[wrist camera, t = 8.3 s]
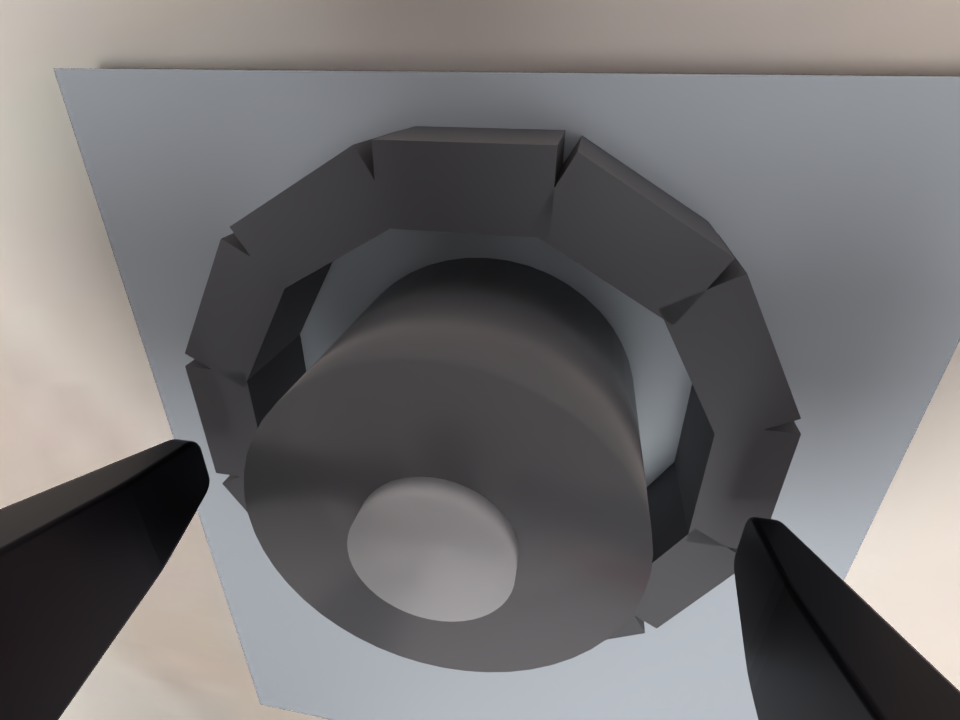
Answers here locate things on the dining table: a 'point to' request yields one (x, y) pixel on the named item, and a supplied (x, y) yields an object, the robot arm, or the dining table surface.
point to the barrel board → (586, 268)
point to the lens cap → (462, 473)
